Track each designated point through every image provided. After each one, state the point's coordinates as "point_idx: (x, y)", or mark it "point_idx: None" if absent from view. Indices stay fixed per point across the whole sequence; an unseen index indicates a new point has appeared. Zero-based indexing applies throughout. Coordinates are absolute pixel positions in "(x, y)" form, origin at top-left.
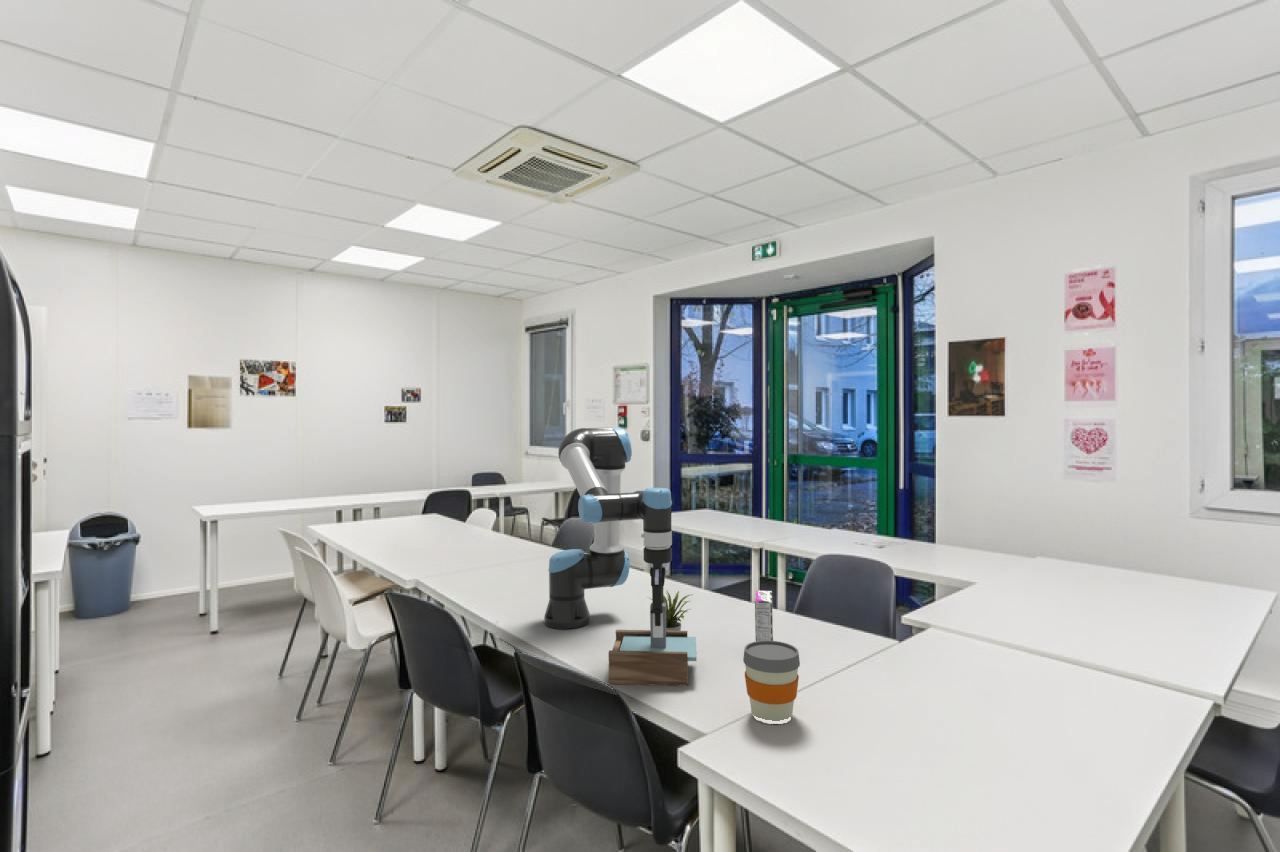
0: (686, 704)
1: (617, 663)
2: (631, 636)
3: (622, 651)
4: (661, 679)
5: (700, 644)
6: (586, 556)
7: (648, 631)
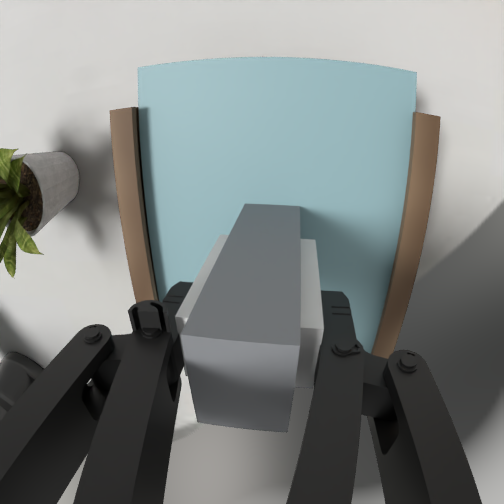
0: (496, 136)
1: None
2: None
3: None
4: None
5: (44, 87)
6: None
7: (145, 286)
